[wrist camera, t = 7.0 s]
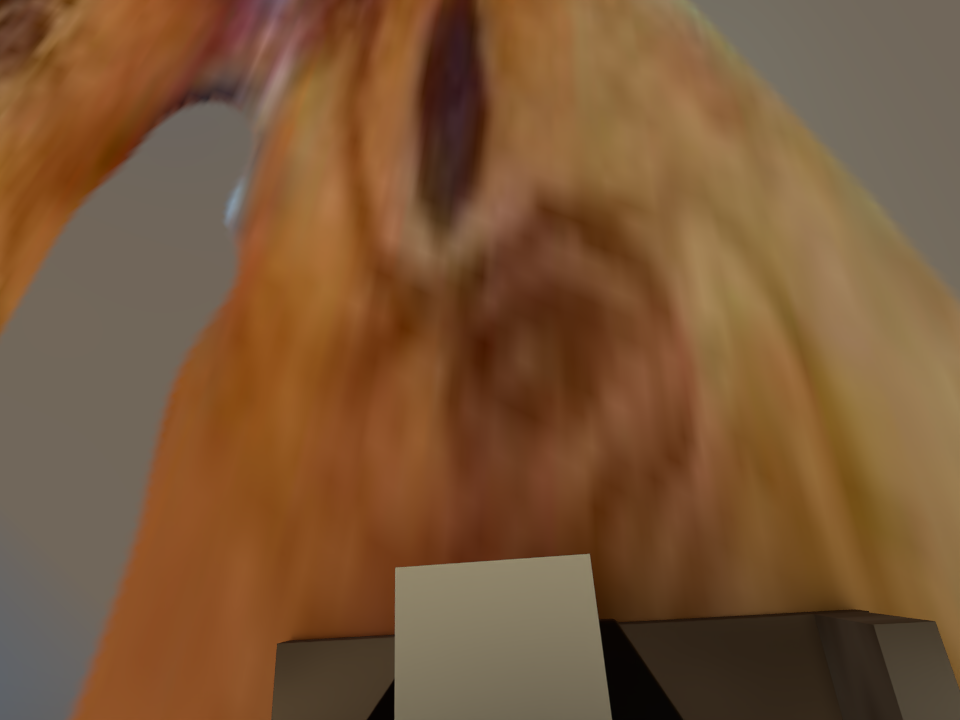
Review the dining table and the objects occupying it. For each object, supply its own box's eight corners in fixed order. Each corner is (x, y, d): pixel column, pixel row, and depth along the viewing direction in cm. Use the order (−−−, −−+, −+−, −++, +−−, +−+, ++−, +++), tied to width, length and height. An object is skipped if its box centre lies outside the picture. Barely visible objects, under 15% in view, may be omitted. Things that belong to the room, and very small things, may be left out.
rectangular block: (604, 772, 14) (678, 1211, 4) (487, 775, 15) (304, 1180, 5) (579, 573, 16) (589, 553, 6) (477, 580, 17) (333, 571, 7)
